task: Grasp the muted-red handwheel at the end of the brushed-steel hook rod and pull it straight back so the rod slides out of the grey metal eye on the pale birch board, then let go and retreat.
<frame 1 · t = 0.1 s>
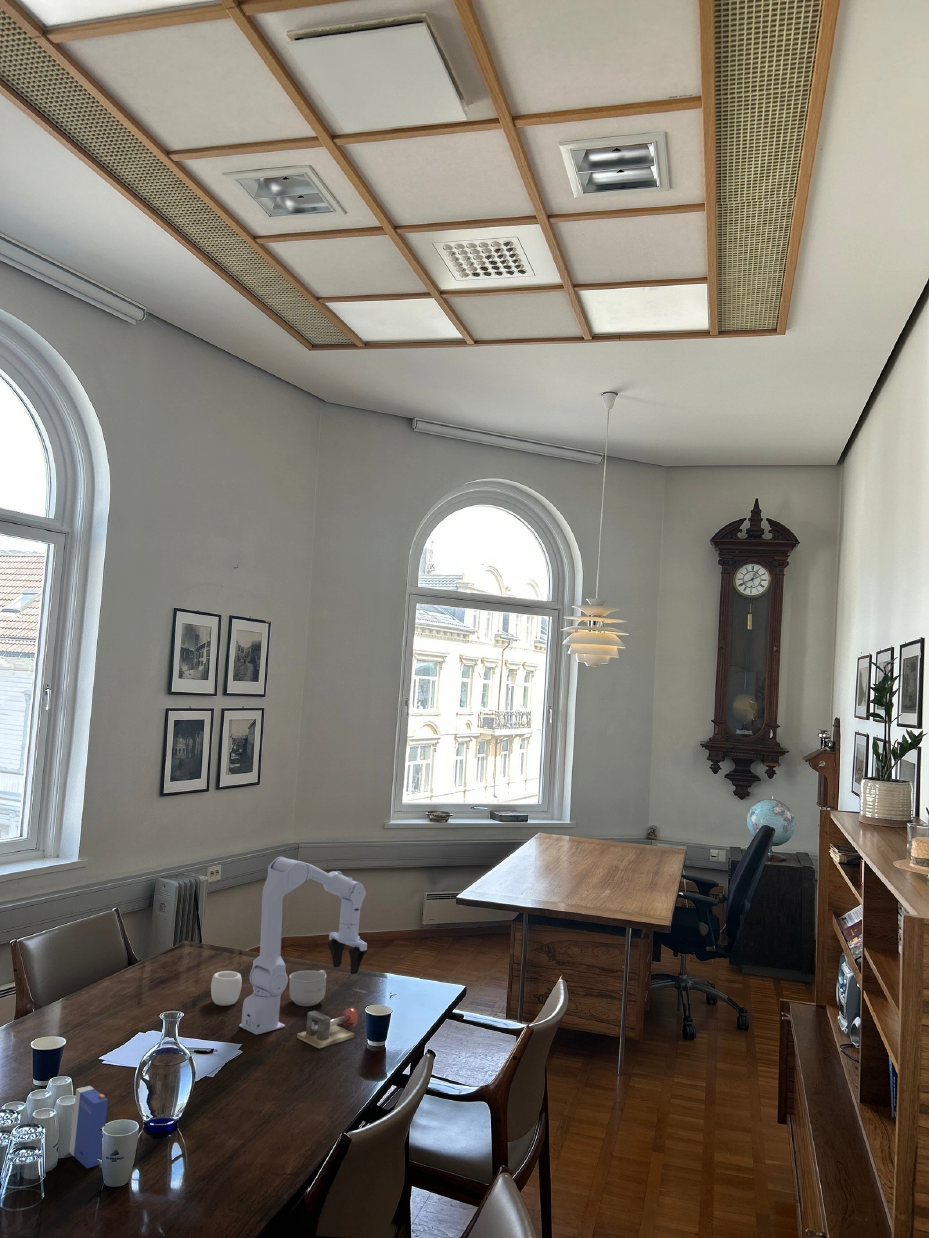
hand: (345, 970, 263), 10 cm above the table, fingers open, 7 cm apart
teacup: (309, 1002, 263), on the table
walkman: (84, 1159, 170), on the table
mug: (224, 1001, 259), on the table
hook rod: (333, 1022, 239), point 3 cm above the table, slide at 0.0 cm
eye bracket: (322, 1038, 236), on the table
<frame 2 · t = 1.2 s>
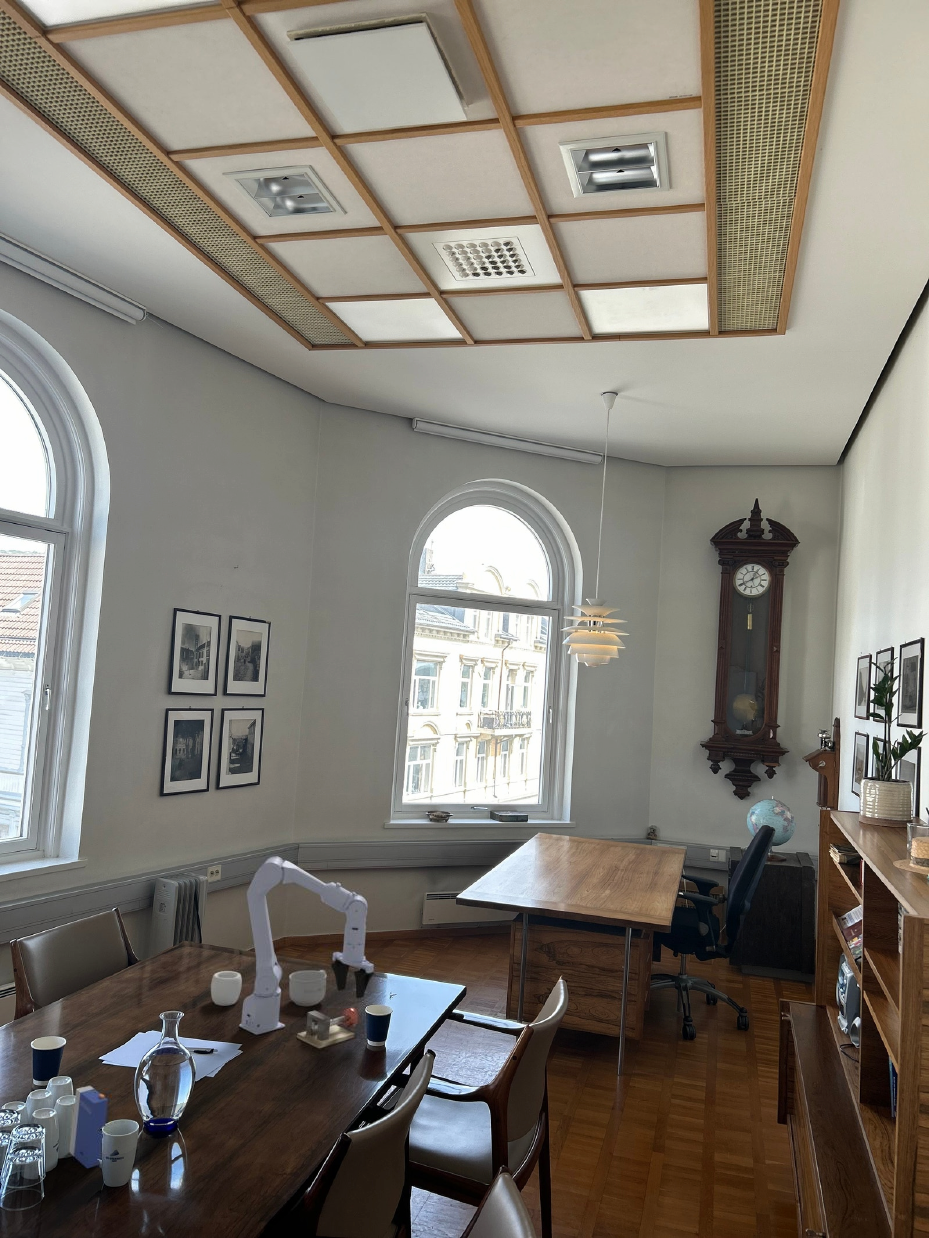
hand: (350, 993, 244), 10 cm above the table, fingers open, 7 cm apart
nothing on the table moved.
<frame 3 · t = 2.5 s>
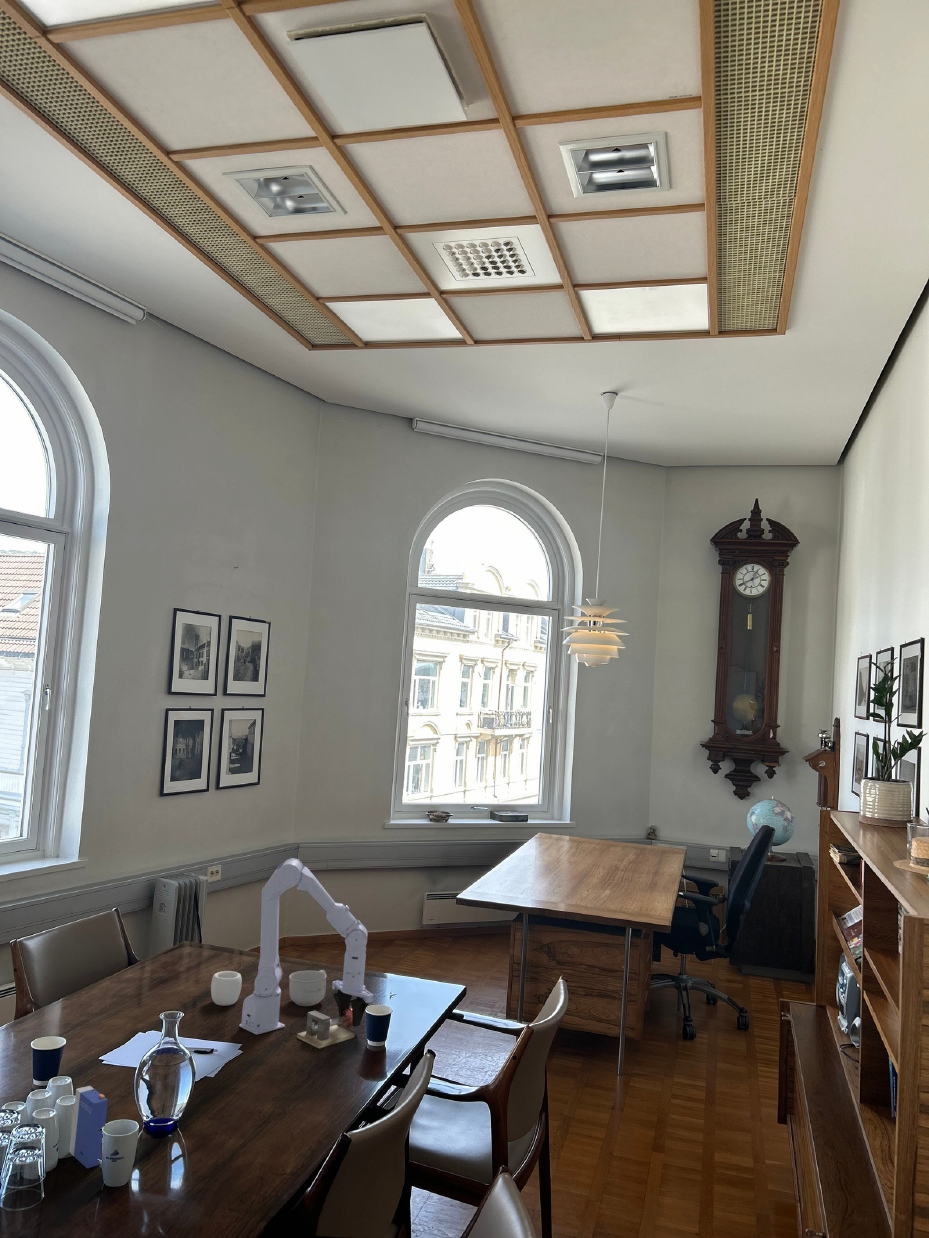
hand: (349, 1022, 243), 2 cm above the table, fingers closed on hook rod, 5 cm apart
hook rod: (333, 1022, 239), point 3 cm above the table, slide at 0.0 cm, touching gripper
everything else where it was.
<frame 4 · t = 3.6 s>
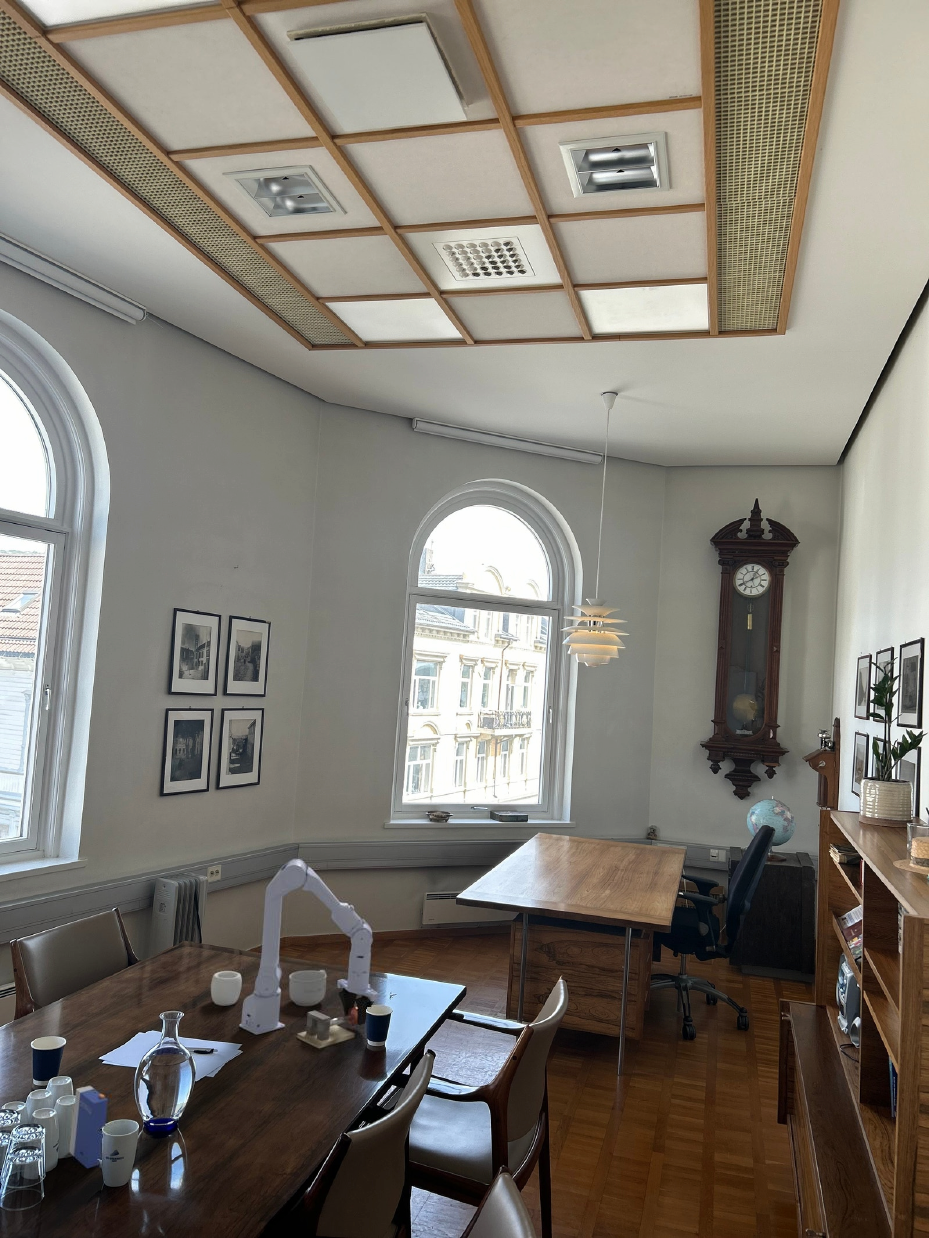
hand: (354, 1021, 244), 2 cm above the table, fingers closed on hook rod, 5 cm apart
hook rod: (338, 1020, 240), point 3 cm above the table, slide at 1.8 cm, touching gripper
everything else where it was.
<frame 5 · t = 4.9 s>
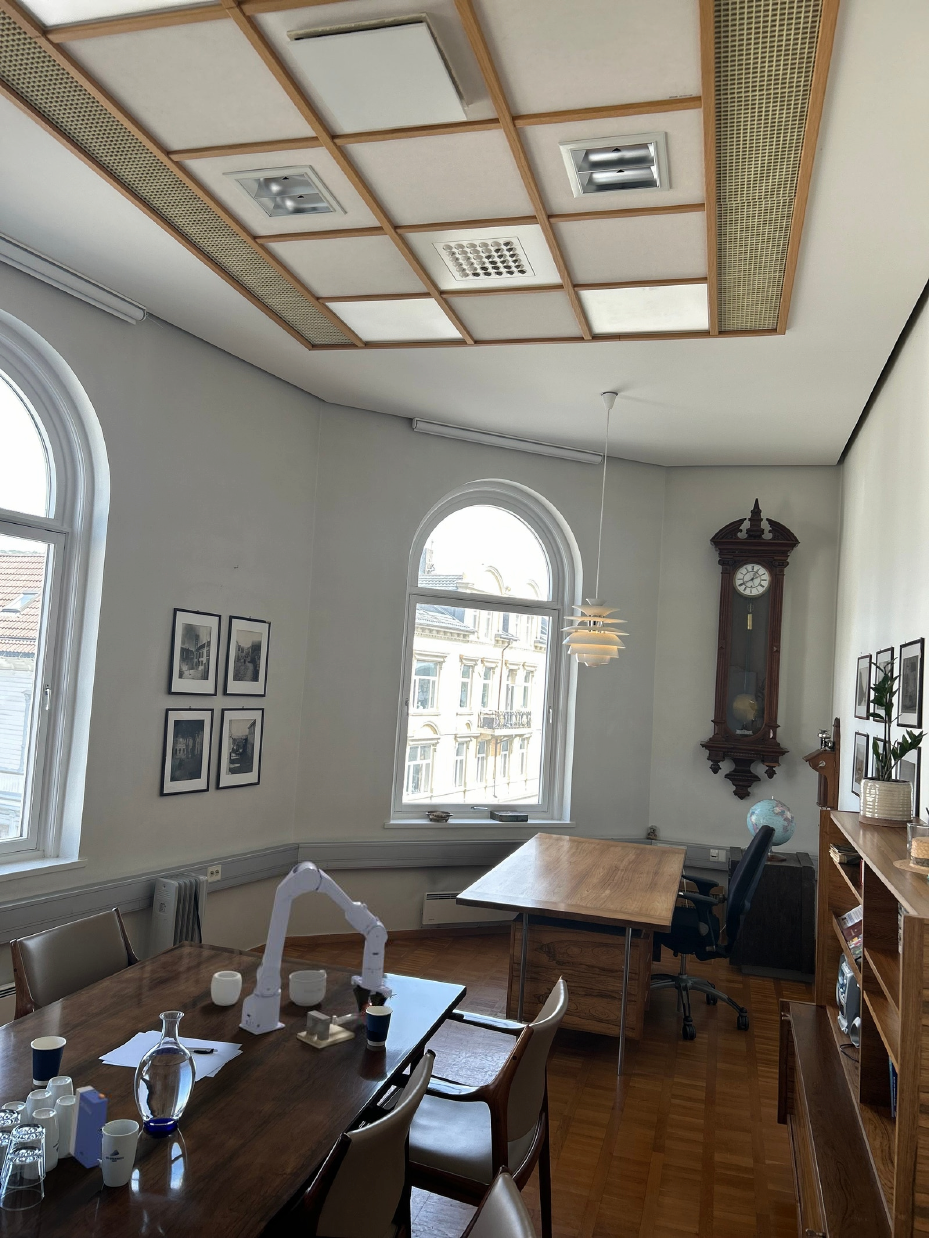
hand: (369, 1017, 248), 2 cm above the table, fingers closed on hook rod, 5 cm apart
hook rod: (352, 1016, 244), point 3 cm above the table, slide at 6.9 cm, touching gripper
everything else where it was.
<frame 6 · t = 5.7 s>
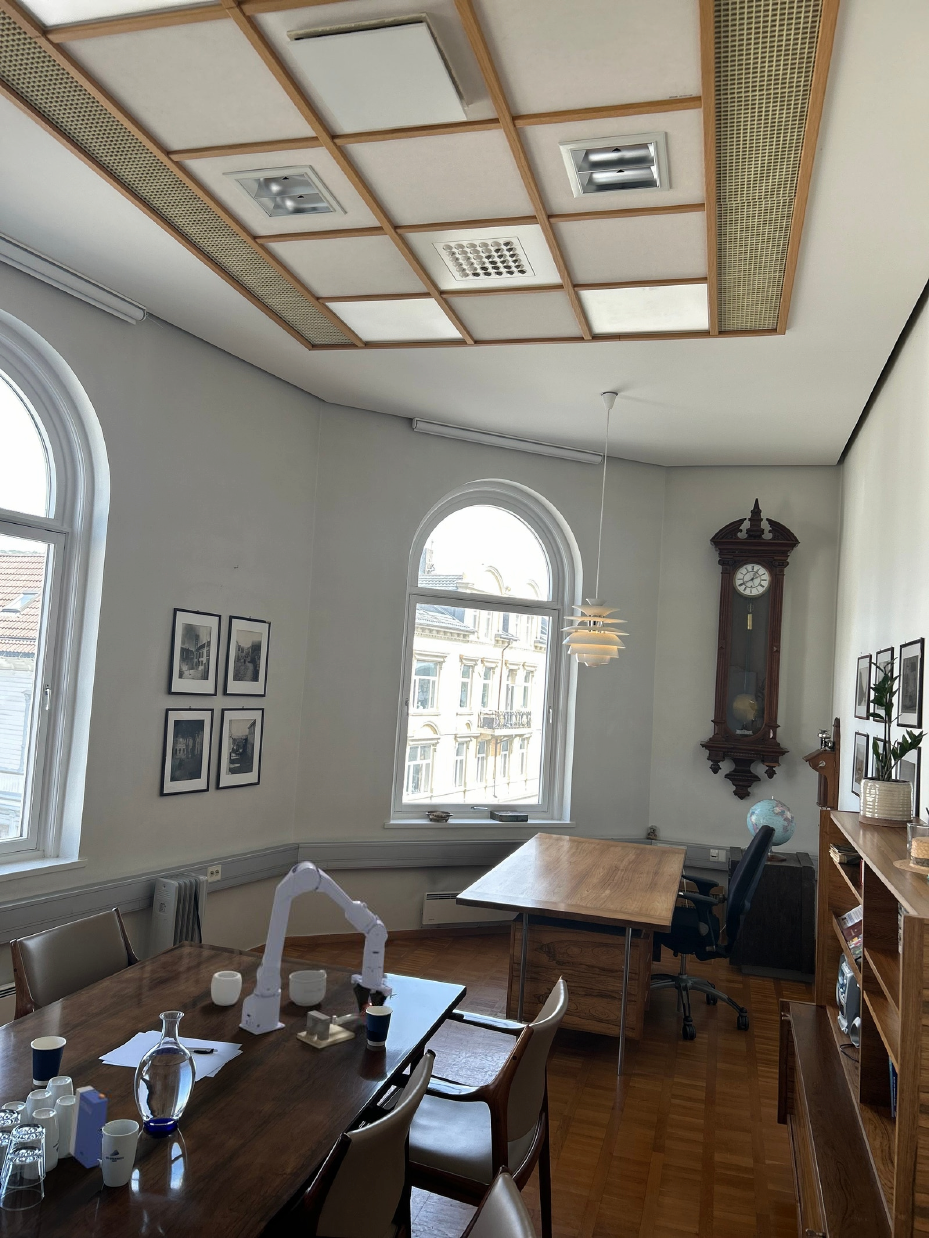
hand: (369, 1015, 248), 2 cm above the table, fingers closed on hook rod, 4 cm apart
hook rod: (352, 1016, 244), point 3 cm above the table, slide at 6.9 cm, touching gripper
everything else where it was.
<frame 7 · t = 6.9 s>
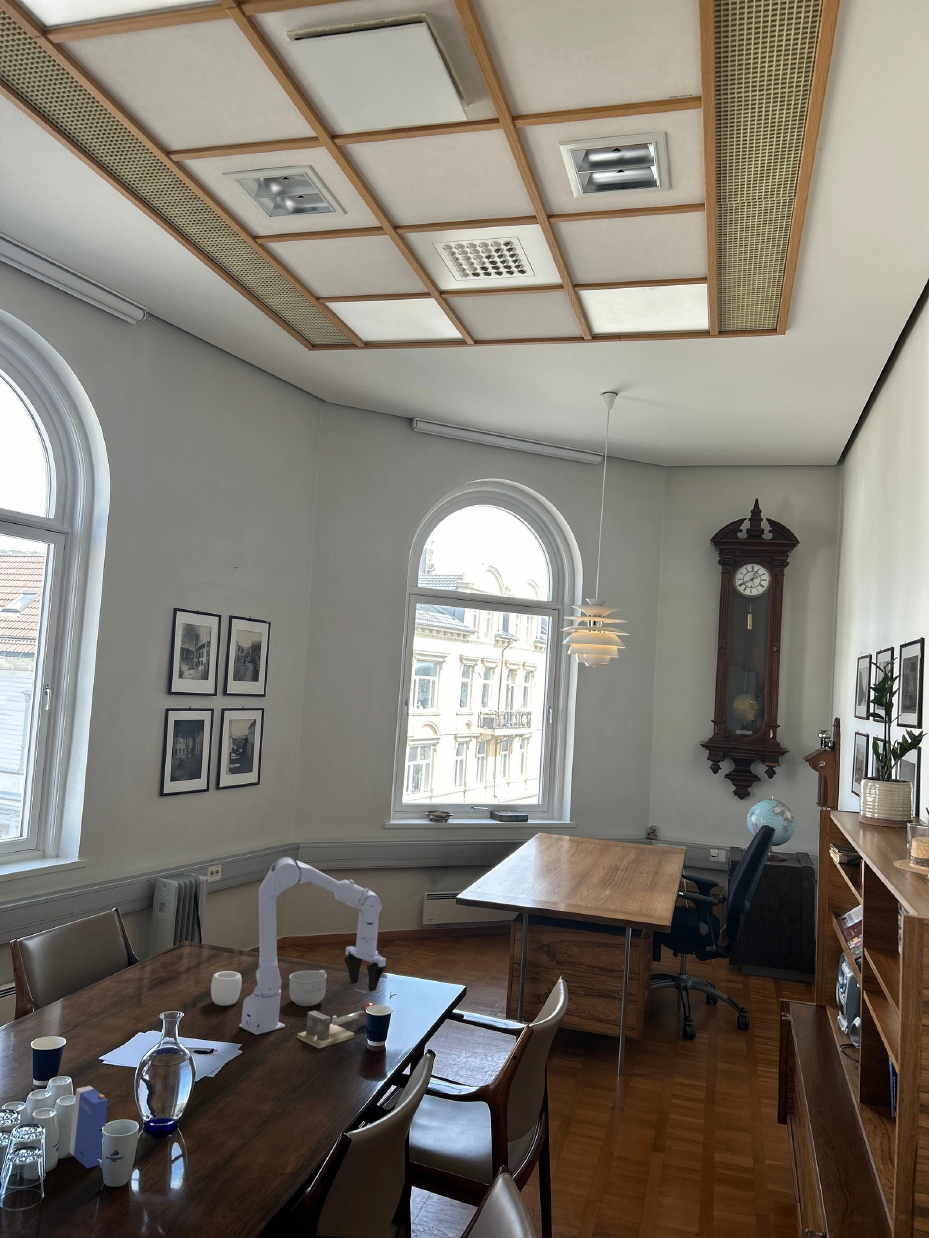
hand: (363, 986, 249), 10 cm above the table, fingers open, 7 cm apart
hook rod: (352, 1016, 244), point 3 cm above the table, slide at 6.9 cm
everything else where it was.
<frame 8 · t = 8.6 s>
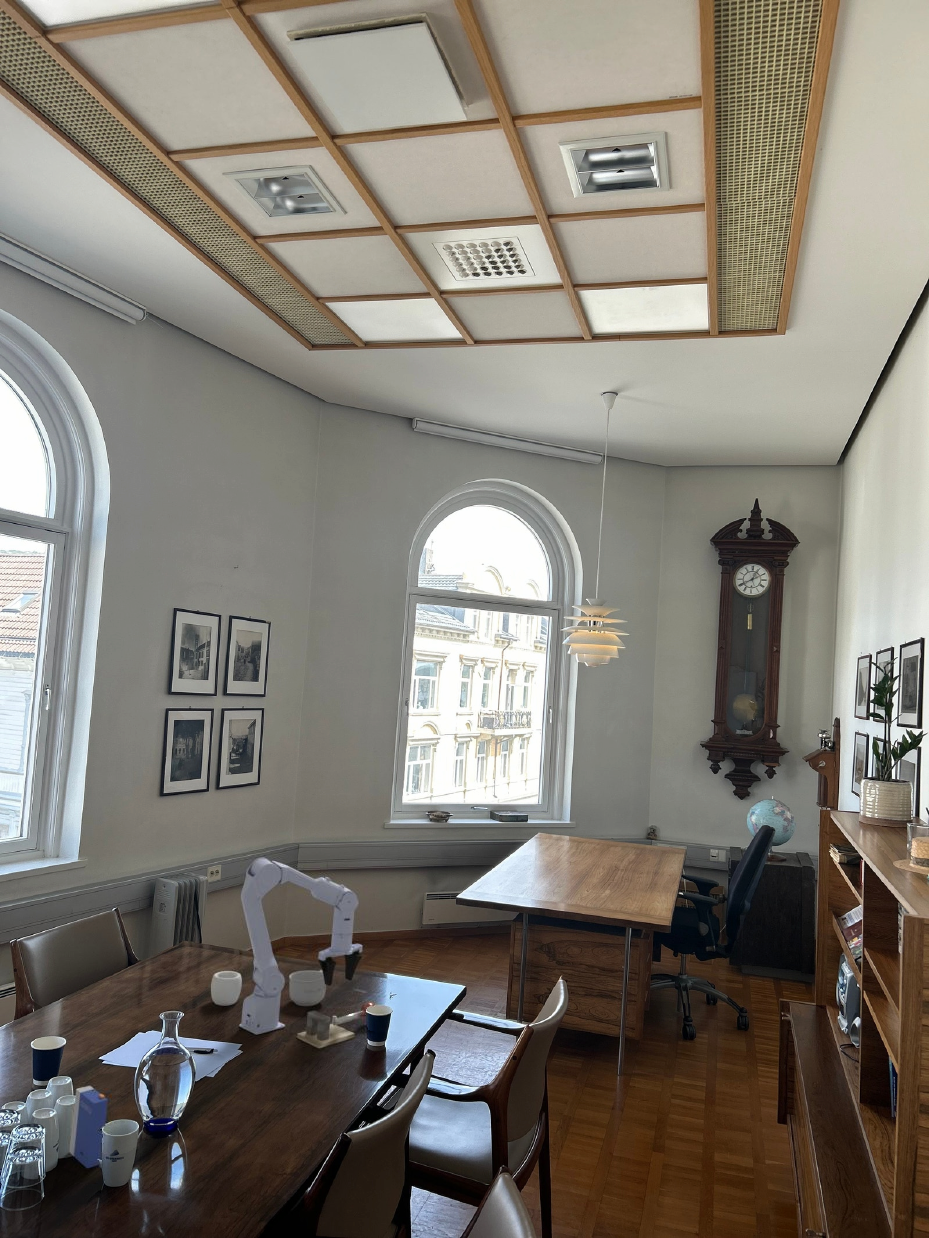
hand: (338, 982, 252), 10 cm above the table, fingers open, 7 cm apart
nothing on the table moved.
at the end: hook rod slide at 6.9 cm; the gripper is holding nothing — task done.
